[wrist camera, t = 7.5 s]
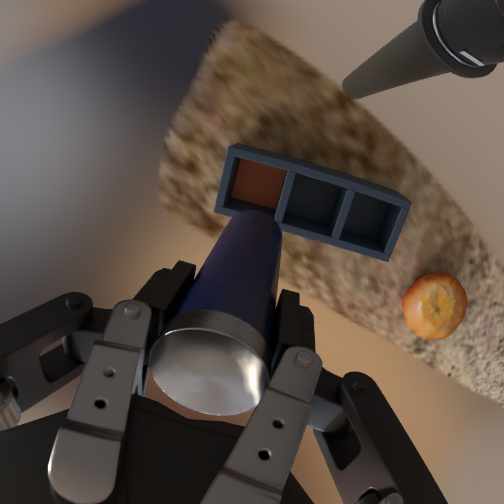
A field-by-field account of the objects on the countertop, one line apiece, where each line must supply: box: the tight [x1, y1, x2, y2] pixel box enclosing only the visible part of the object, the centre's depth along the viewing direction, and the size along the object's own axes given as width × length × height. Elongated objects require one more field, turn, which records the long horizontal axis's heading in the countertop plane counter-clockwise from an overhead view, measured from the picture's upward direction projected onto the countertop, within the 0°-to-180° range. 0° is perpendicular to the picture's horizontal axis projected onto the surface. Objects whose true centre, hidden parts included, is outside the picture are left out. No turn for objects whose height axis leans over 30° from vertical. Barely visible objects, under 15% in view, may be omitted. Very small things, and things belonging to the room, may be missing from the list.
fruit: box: [402, 273, 467, 339], centre depth 33 cm, size 8×8×8 cm
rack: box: [214, 143, 411, 262], centre depth 31 cm, size 7×18×4 cm, turn 76°
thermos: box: [149, 210, 282, 415], centre depth 15 cm, size 4×4×12 cm
